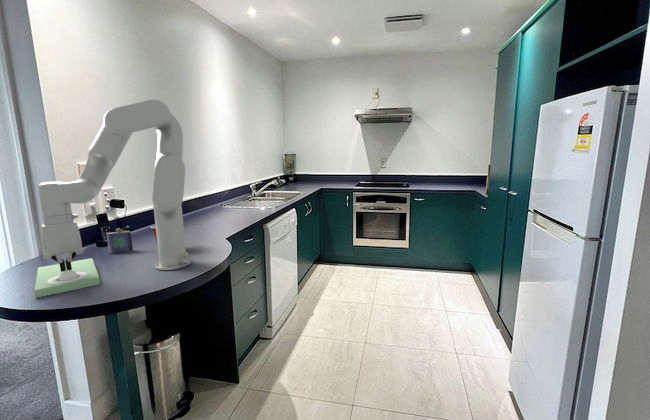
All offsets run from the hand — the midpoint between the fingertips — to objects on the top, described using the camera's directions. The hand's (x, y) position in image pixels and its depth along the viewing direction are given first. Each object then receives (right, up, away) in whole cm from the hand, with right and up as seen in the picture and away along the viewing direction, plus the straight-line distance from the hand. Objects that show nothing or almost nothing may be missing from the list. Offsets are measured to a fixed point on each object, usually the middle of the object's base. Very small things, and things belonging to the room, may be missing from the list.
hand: (66, 272), depth 110 cm
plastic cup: (+17, +3, +35) cm, 39 cm away
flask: (-3, +2, +34) cm, 34 cm away
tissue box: (-2, -3, +3) cm, 4 cm away
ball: (+3, -1, -3) cm, 4 cm away
